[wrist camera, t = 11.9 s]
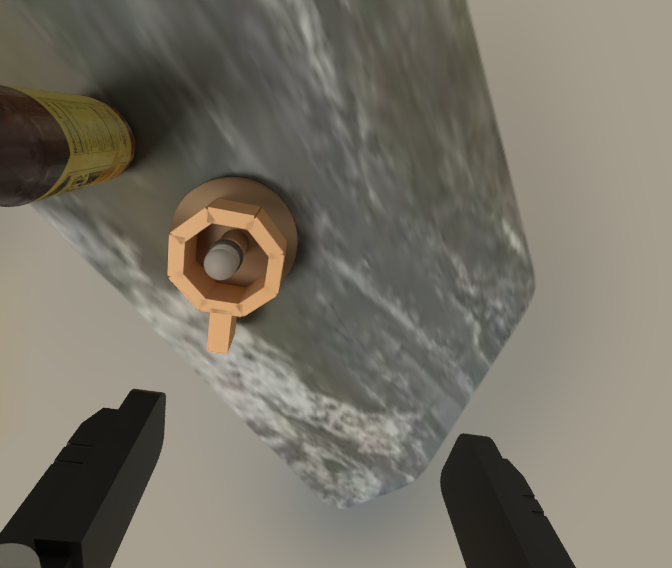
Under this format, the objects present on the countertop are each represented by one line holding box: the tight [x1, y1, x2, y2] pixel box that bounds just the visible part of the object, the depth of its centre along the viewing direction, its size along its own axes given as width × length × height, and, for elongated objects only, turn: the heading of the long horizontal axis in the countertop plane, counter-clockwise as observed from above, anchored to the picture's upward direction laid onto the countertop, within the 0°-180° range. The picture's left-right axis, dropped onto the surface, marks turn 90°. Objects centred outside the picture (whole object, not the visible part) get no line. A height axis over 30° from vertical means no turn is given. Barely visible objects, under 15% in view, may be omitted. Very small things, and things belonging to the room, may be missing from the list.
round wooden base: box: [171, 177, 298, 287], centre depth 31 cm, size 11×11×8 cm
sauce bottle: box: [0, 85, 135, 207], centre depth 22 cm, size 6×6×20 cm
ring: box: [168, 198, 287, 354], centre depth 33 cm, size 13×9×4 cm
